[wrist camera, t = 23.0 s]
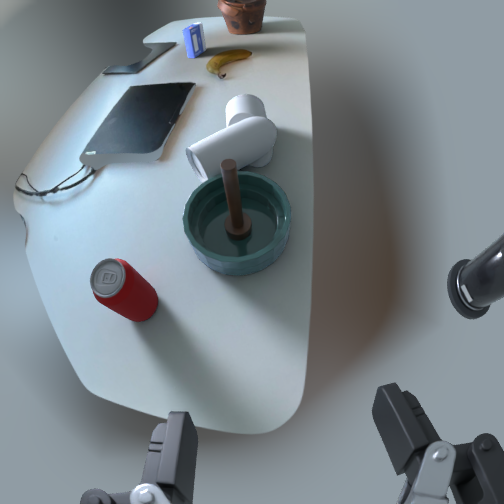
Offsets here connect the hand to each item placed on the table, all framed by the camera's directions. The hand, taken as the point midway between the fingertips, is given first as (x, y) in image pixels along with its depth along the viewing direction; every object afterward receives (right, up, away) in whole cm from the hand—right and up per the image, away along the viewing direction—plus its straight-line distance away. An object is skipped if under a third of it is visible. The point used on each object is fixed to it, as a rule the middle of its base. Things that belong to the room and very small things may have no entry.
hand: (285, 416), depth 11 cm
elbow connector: (-5, +27, +47) cm, 54 cm away
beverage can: (-20, -2, +34) cm, 39 cm away
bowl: (-4, +10, +39) cm, 41 cm away
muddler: (-4, +11, +38) cm, 40 cm away
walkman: (-20, +75, +71) cm, 105 cm away
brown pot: (-5, +95, +80) cm, 124 cm away
